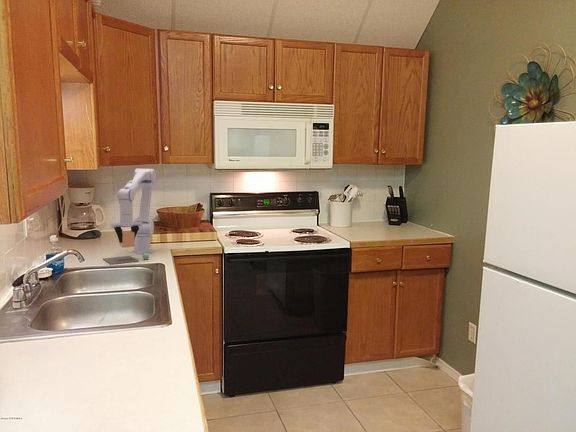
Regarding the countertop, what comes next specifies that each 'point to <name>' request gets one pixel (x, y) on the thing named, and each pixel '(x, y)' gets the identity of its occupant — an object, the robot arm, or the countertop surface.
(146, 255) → the ball
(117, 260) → the mat
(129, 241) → the orange brown block
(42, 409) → the countertop surface
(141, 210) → the robot arm
